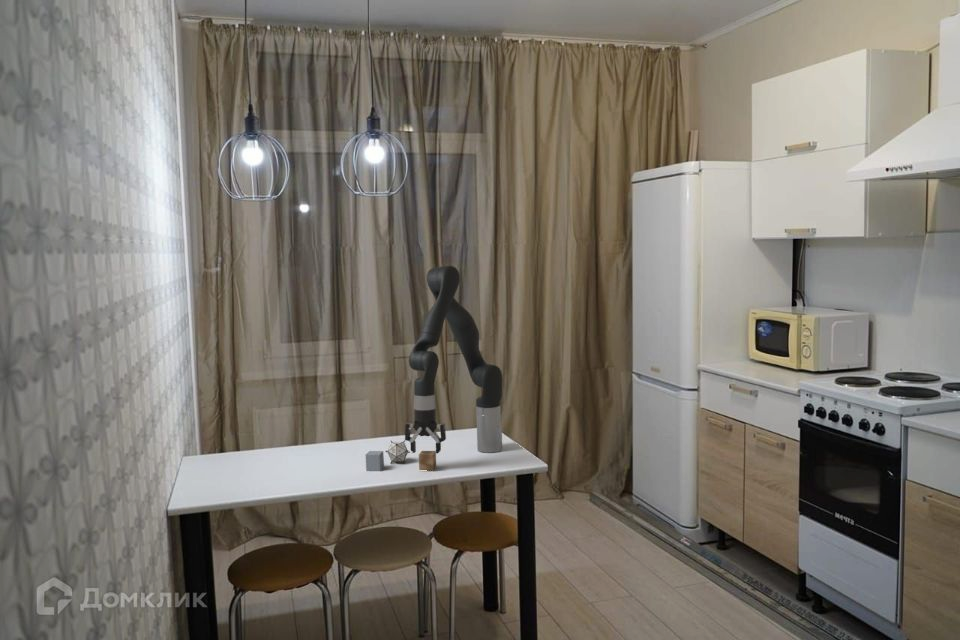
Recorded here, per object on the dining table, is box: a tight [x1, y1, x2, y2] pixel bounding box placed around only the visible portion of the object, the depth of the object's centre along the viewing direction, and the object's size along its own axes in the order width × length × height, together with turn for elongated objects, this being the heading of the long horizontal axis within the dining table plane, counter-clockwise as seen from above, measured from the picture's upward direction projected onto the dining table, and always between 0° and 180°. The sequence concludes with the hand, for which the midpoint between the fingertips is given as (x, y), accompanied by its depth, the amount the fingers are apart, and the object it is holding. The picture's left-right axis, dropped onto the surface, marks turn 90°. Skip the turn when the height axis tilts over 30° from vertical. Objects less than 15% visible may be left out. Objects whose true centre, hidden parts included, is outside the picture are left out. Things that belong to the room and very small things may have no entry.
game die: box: [385, 439, 411, 464], centre depth 276 cm, size 9×8×10 cm
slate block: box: [365, 450, 385, 472], centre depth 269 cm, size 5×5×6 cm
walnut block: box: [418, 450, 437, 472], centre depth 267 cm, size 5×5×6 cm
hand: (425, 452), depth 266 cm, fingers open, 8 cm apart
